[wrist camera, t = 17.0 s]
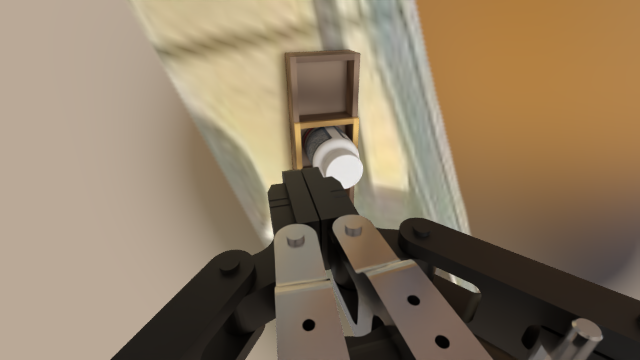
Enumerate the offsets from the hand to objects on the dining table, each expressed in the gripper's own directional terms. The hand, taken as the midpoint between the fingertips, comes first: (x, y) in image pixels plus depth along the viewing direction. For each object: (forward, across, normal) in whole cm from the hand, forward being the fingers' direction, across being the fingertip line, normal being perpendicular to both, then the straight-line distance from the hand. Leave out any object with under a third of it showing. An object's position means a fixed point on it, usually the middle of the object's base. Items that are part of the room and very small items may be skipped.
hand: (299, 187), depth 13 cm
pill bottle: (+24, -7, +9) cm, 26 cm away
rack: (+25, -6, +9) cm, 27 cm away
